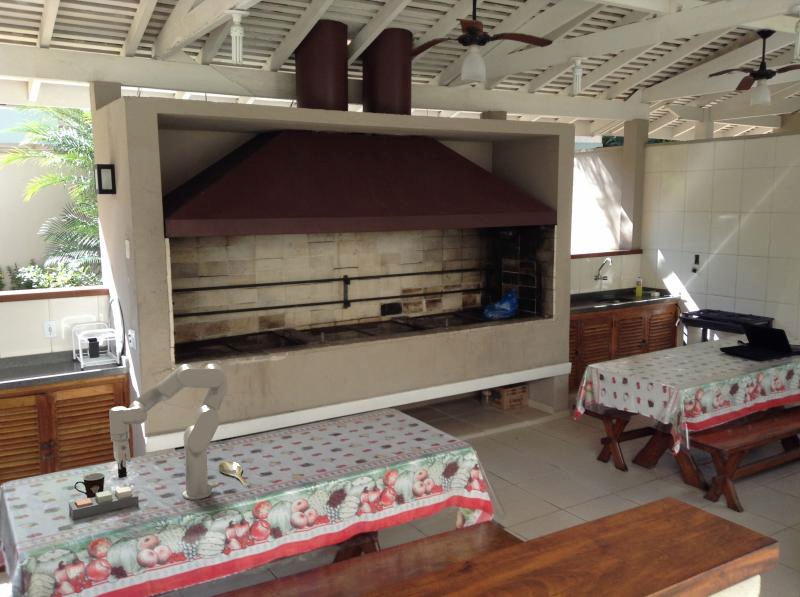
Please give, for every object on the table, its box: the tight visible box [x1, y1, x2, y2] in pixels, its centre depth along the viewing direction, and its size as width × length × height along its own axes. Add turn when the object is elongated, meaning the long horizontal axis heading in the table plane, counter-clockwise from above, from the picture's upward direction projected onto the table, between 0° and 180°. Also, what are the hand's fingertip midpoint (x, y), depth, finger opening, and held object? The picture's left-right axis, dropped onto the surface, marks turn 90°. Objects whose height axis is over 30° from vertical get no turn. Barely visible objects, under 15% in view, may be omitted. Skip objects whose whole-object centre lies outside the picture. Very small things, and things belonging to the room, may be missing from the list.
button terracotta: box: [75, 497, 92, 508], centre depth 299 cm, size 5×5×4 cm
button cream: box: [114, 486, 132, 499], centre depth 308 cm, size 5×5×4 cm
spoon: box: [217, 460, 248, 486], centre depth 342 cm, size 35×11×2 cm, turn 33°
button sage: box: [96, 490, 112, 503], centre depth 303 cm, size 5×5×4 cm
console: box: [68, 488, 140, 521], centre depth 304 cm, size 26×9×4 cm, turn 124°
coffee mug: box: [74, 472, 105, 499], centre depth 315 cm, size 12×9×10 cm
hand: (122, 476), depth 307 cm, fingers closed
